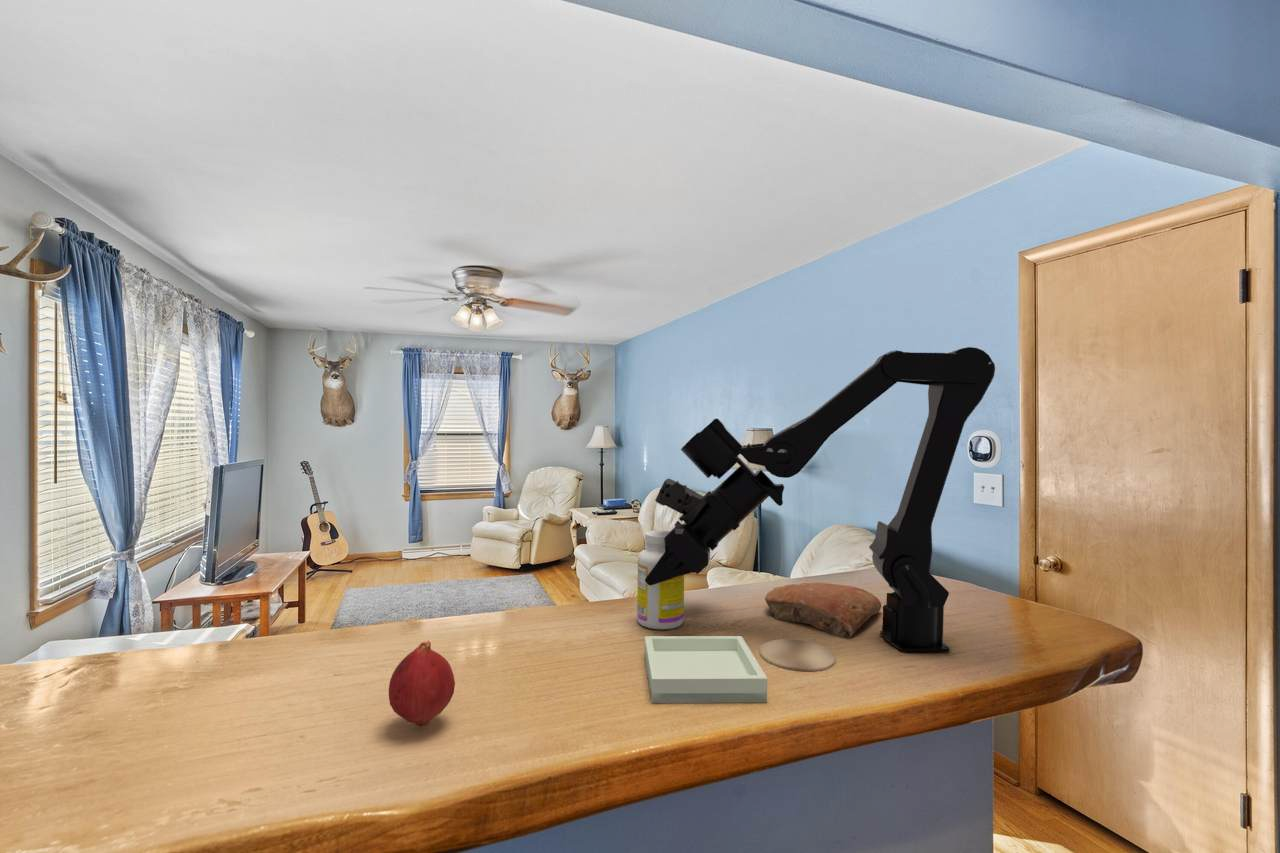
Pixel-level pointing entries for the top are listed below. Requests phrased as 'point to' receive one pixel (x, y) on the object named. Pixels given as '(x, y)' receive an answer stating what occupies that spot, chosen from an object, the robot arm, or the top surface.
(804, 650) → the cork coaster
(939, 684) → the top surface
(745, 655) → the tray
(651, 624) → the supplement bottle
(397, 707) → the onion
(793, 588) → the ceramic shard
